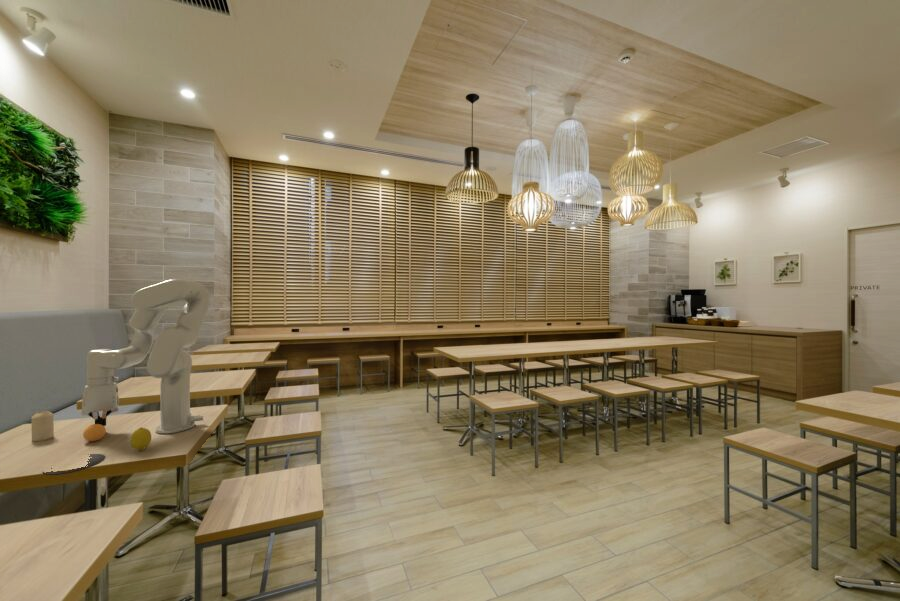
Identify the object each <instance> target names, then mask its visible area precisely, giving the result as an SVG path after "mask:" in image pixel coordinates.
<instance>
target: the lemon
mask: <svg viewBox="0 0 900 601" xmlns="http://www.w3.org/2000/svg"><path fill="white" fill-rule="evenodd" d="M130 436H131V437H130V440H129V441H130V445H131V447H132V448H133V449H134V450H138V451H140V452H141V451H143V450H144V449H146V448H147V447H148V446H149V445H150V444H151V442H152V433H151V431H150V429H147V428H146V427H142V426H141V427H139V428H137V429H136V430H134V432H132V434H131V435H130Z"/></svg>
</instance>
